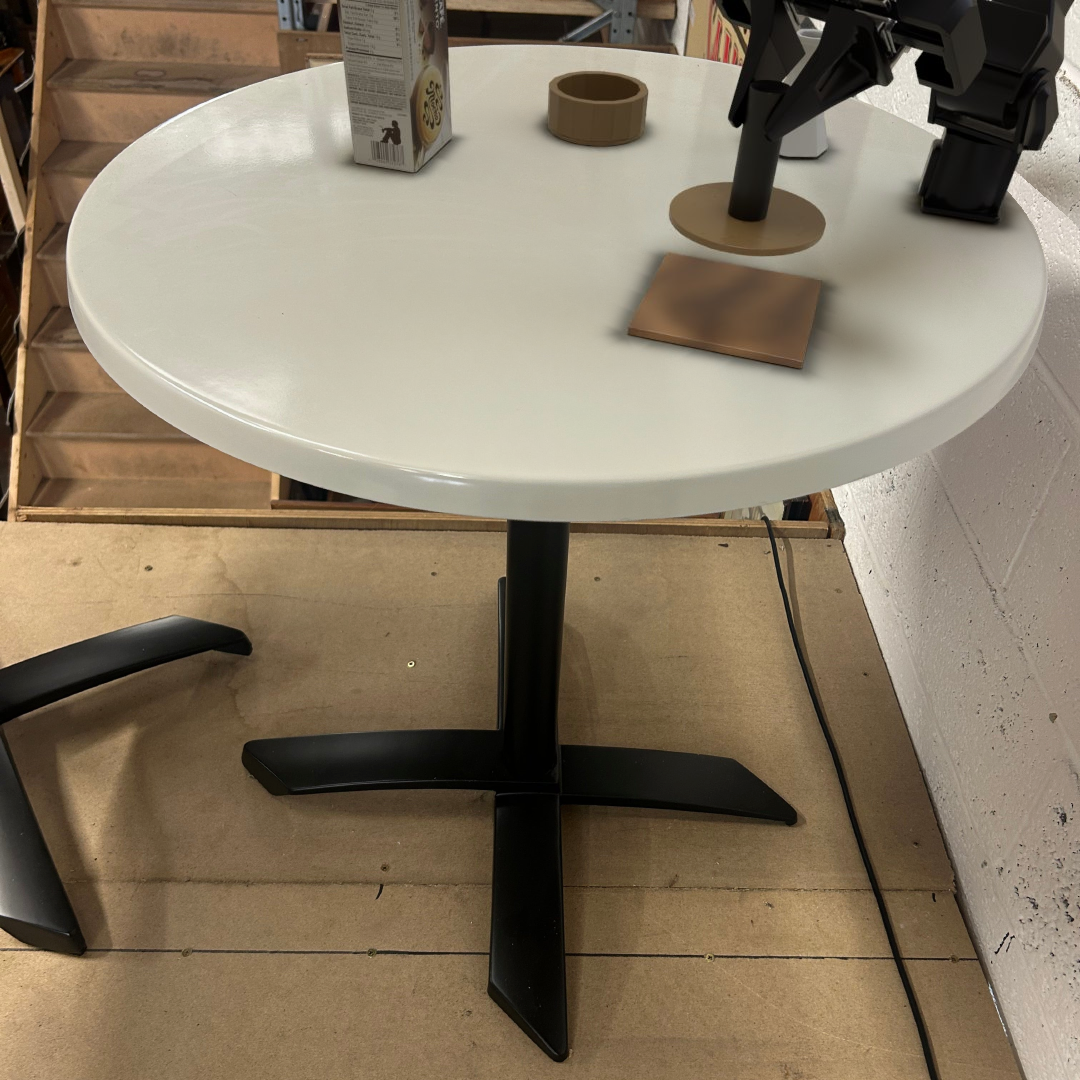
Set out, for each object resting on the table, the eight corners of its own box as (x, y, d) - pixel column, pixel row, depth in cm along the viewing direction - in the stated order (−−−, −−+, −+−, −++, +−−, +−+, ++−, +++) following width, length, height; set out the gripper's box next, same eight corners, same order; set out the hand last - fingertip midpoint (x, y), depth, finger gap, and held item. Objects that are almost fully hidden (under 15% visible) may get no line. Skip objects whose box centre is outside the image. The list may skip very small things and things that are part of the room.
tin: (653, 119, 94) (657, 78, 91) (629, 152, 87) (633, 109, 85) (564, 105, 96) (566, 65, 93) (534, 137, 89) (535, 95, 87)
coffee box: (393, 129, 90) (377, -64, 79) (454, 139, 88) (447, -57, 77) (351, 163, 83) (327, -42, 72) (416, 174, 82) (402, -34, 71)
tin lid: (724, 184, 67) (746, 49, 61) (850, 230, 62) (889, 88, 56) (636, 228, 62) (651, 84, 55) (767, 282, 57) (800, 131, 50)
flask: (828, 137, 92) (855, 27, 85) (825, 164, 87) (853, 49, 80) (756, 128, 93) (776, 18, 86) (748, 154, 88) (769, 40, 81)
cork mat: (820, 287, 69) (822, 279, 69) (801, 369, 61) (803, 361, 60) (666, 259, 72) (666, 251, 71) (627, 334, 63) (628, 326, 63)
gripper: (741, -237, 53) (586, 6, 55) (1043, -203, 43) (837, 93, 45) (798, -88, 62) (663, 116, 64) (1058, -30, 52) (886, 208, 54)
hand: (749, 130), depth 57 cm, fingers closed on tin lid, 2 cm apart
